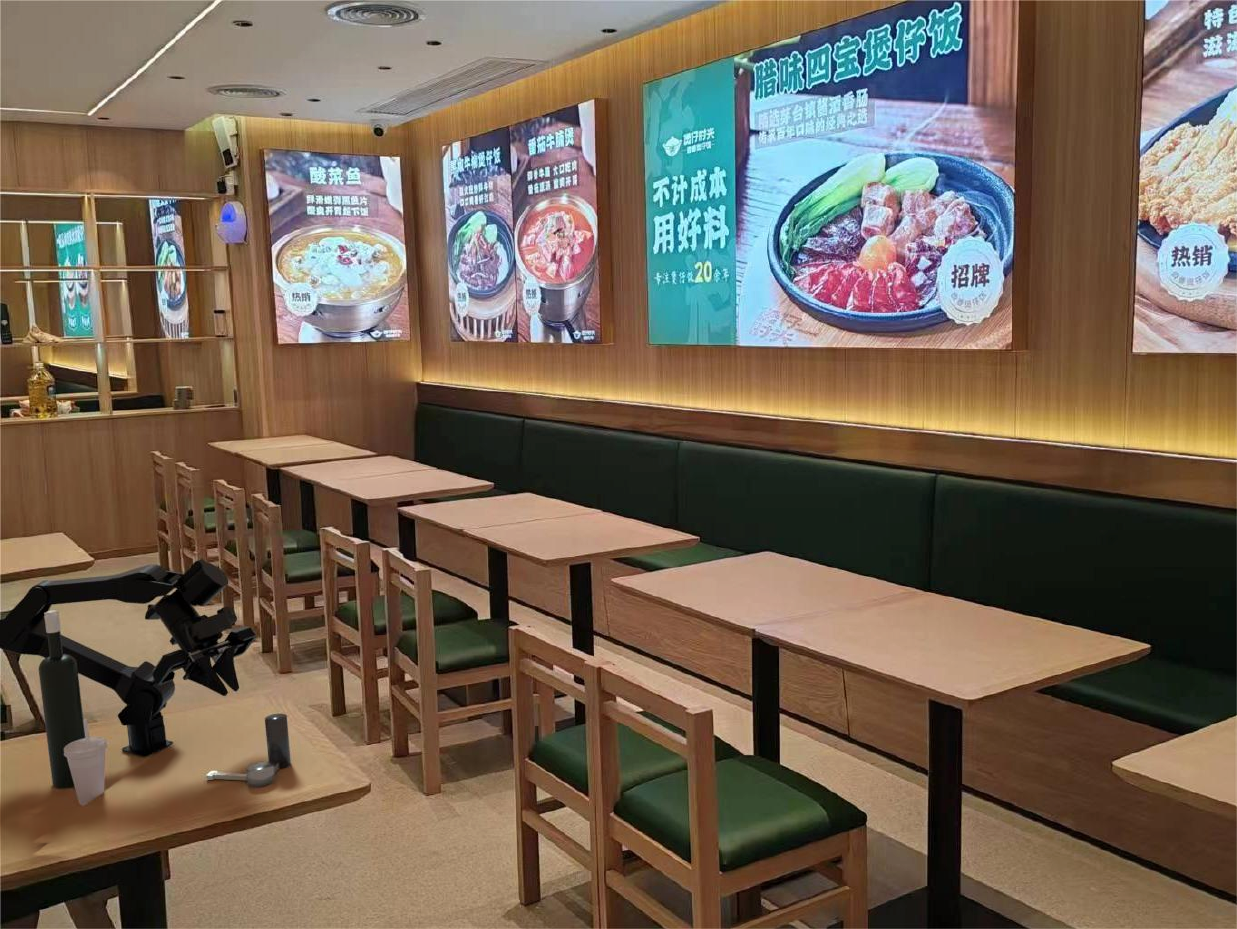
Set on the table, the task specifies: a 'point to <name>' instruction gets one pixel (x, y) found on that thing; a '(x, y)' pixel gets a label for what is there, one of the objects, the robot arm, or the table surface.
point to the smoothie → (87, 765)
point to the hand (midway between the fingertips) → (231, 692)
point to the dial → (277, 755)
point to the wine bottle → (60, 702)
